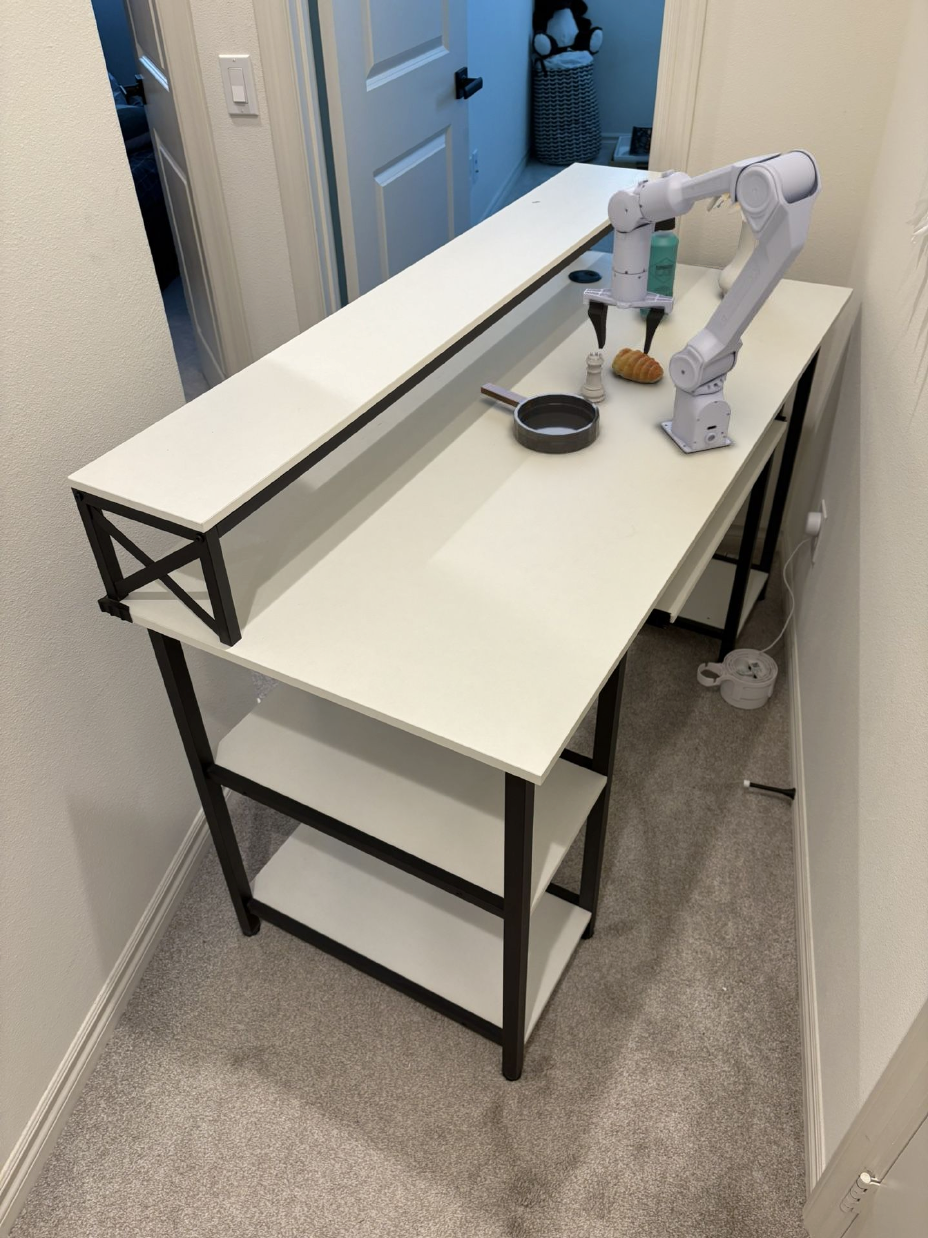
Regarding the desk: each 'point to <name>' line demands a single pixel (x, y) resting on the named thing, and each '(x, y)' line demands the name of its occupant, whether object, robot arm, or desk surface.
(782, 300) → the desk surface
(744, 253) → the flower vase
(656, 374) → the pastry
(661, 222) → the beverage bottle
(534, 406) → the pan
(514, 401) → the pan handle
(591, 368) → the rook chess piece
